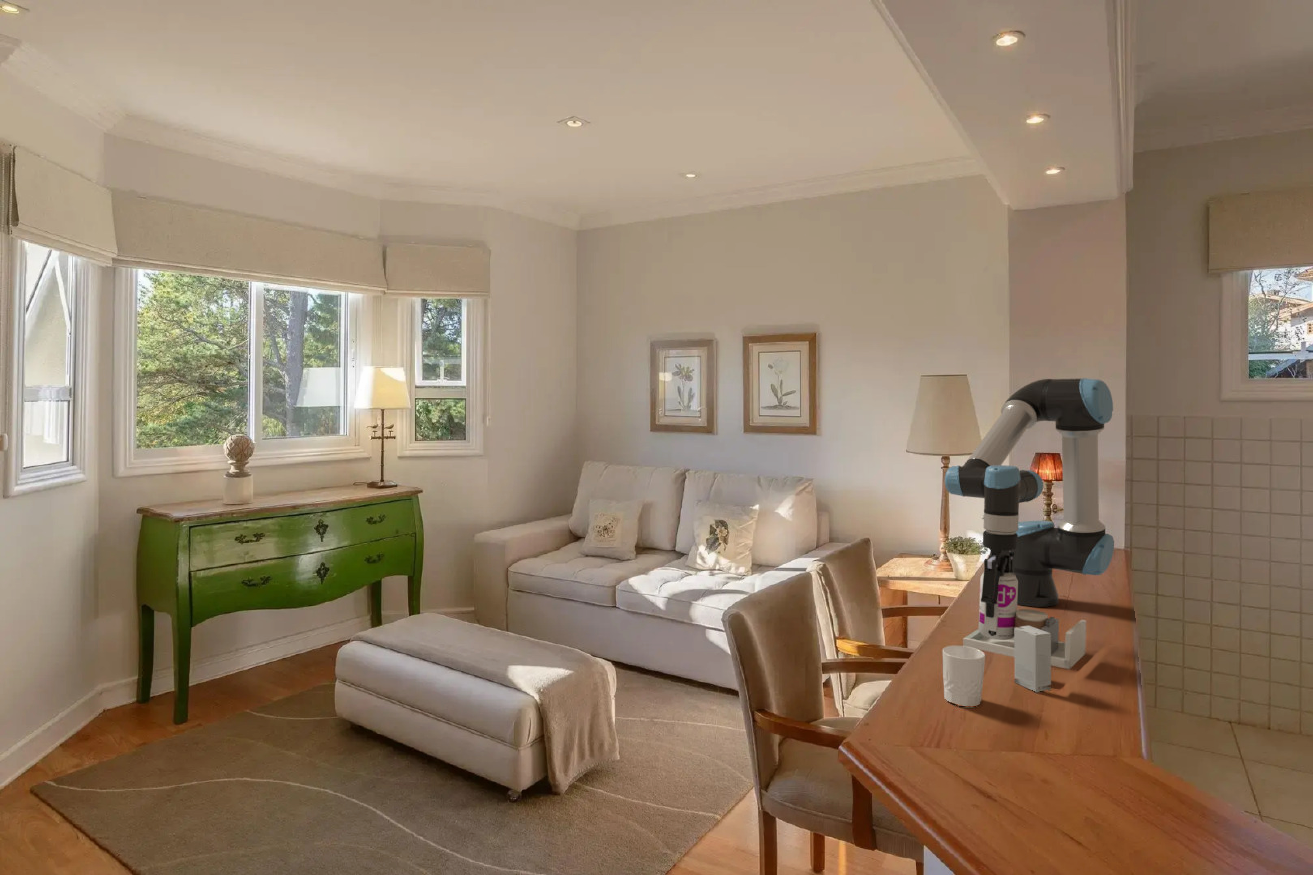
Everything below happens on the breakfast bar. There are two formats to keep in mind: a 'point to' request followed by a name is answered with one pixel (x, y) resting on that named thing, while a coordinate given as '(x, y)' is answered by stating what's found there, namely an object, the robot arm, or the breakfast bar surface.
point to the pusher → (1052, 632)
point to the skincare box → (1032, 658)
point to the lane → (1061, 657)
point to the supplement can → (1002, 608)
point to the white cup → (963, 675)
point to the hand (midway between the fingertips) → (997, 625)
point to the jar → (1030, 618)
